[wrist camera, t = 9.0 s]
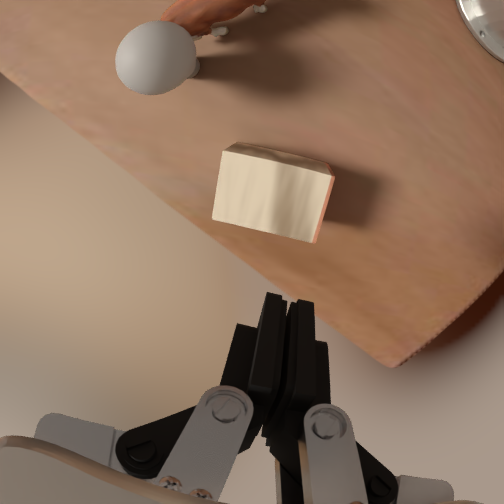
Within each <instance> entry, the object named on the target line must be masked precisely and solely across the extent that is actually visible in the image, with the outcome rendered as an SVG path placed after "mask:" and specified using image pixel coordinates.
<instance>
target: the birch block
mask: <svg viewBox="0 0 504 504" xmlns="http://www.w3.org/2000/svg"><path fill="white" fill-rule="evenodd" d="M334 180H335V175H334V174H333V172H332V170H331V168H330V167H329V165H328V163H325V162H321V161H318V160H314V159H310V158H306V157H302V156H298V155H294V154H290V153H286V152H281V151H277V150H273V149H268V148H264V147H259V146H254V145H249V144H244V143H239V142H236V143H235V144H233V145H231V146H230V147H228V148H226V149H225V150H223V153H222V159H221V165H220V171H219V177H218V183H217V189H216V196H215V202H214V209H213V215H212V219H213V220H217V221H222V222H226V223H230V224H235V225H239V226H243V227H248V228H252V229H256V230H260V231H264V232H269V233H273V234H277V235H281V236H285V237H289V238H294V239H298V240H302V241H306V242H310V243H314V244H315V243H316V240H317V237H318V233H319V230H320V227H321V224H322V220H323V217H324V214H325V211H326V207H327V204H328V200H329V197H330V194H331V190H332V187H333V183H334Z"/></svg>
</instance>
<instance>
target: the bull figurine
mask: <svg viewBox="0 0 504 504" xmlns="http://www.w3.org/2000/svg"><path fill="white" fill-rule="evenodd" d="M265 1H266V0H178V1H176V2H175V3H174V4H172V5H171V6H170V7H169V8H168V9H167V10H166V11H165V12H164V13H163V15H162V16H161V21H169V22H173V23H176V24H178V25H179V26H181V27H183V28H184V29H185V30H186V31H187V32H188V33H189V34H190V35H191V37H192V39H193V41H195V40H199V39H201V38H202V36H203V35H208V34H211V35H213V36H214V37H217V36H218V35H226V34H227V33H228V31H229V30H228V27H224V26H223V27H218V28H215V29H212V28H210V26H211V25H212V24H213V23H216V22H221V21H227V20H230V19H232V18H234V17H236V16H238V15H239V14H241V13H242V12H243V11H244V10H245V9H246V8H248V7H250V6H252V5H253V4H254V6H253V8H254V12H255V13H257V12H261V13H264V12H266V11H267V7H266V6H265V5H263V4H264V3H265Z"/></svg>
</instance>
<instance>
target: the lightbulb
mask: <svg viewBox="0 0 504 504" xmlns="http://www.w3.org/2000/svg"><path fill="white" fill-rule="evenodd" d="M115 63H116V70H117V74H118V76H119V78H120V80H121V81H122V82H123V83H124V84H125V85H126V86H127V87H128V88H130V89H131V90H133V91H135V92H138V93H140V94H145V95H158V94H163V93H166V92H168V91H170V90H173V89H175V88H176V87H178V86H179V85H181V84H182V83H183V82H184V81H185V80H186V79H189V78H192V77H194V76H195V75H196V74H197V73H198V71H199V68H200V63H199V61H198V59H197V58H196V47H195V44H194V41H193V39H192V37H191V35H190V34H189V33H188V32H187V31H186V30H185V29H184V28H183V27H181V26H179V25H178V24H176V23H173V22H169V21H159V20H158V21H151V22H147V23H144V24H141V25H139V26H138V27H136V28H134V29H133V30H132V31H130V32H129V33H128V34H127V35H126V36H125V37H124V39H123V40H122V42H121V43H120V45H119V47H118V50H117V53H116V60H115Z"/></svg>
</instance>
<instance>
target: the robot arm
mask: <svg viewBox="0 0 504 504" xmlns="http://www.w3.org/2000/svg"><path fill="white" fill-rule="evenodd" d="M456 3H457V7H458V9H459V11H460V14H461V16H462V18H463V20H464V22H465V24H466V25H467V27H468V29H469V30H470V31H471V33H472V34H473V36H474V37H475V38H476V40H477V41H478V42H479V43H480V44H481V45H482V46H483V47H484V48H485V49H486V50H487V51H488V52H489V53H490V54H491V55H493V56H494V57H495V58H497V59H498V60H500V61H502V62H504V0H456ZM286 312H287V301H285V300H282V296H281V295H278V294H273V293H269V292H267V294H266V297H265V301H264V305H263V308H262V312H261V316H260V319H259V323H258V326H257V328H255V327H250V326H246V325H242V324H238V323H237V325H236V329H235V332H234V336H233V340H232V343H231V347H230V351H229V354H228V357H227V361H226V365H225V368H224V372H223V375H222V379H221V382H220V386H216V387H213V388H211V389H209V390H207V391H206V392H205V393H204V394H203V396H202V397H201V399H200V401H199V403H198V404H197V405H196V406H194V407H191V408H188V409H186V410H183V411H181V412H178V413H176V414H173V415H171V416H168V417H165V418H163V419H160V420H157V421H154V422H151V423H148V424H145V425H143V426H140V427H137V428H134V429H131V430H129V431H122V430H116V429H115V428H114V427H112V426H107V425H103V424H98V423H94V422H89V421H85V420H81V419H77V418H73V417H69V416H66V415H62V414H57V413H50V414H47V415H45V416H44V417H43V418H41V419H40V421H39V423H38V425H37V428H36V431H35V435H34V438H31V437H25V436H4V437H1V438H0V504H227V503H221V502H217V501H218V499H219V497H220V494H221V492H222V490H223V488H224V485H225V482H226V480H227V478H228V476H229V473H230V471H231V468H232V466H233V464H234V461H235V459H236V456H237V454H239V453H241V452H243V451H245V450H247V449H249V448H250V446H251V444H252V442H253V440H254V438H255V436H257V435H258V433H259V431H260V429H261V427H262V425H263V427H262V434H261V436H262V437H265V438H267V439H266V446H270V453H272V455H273V456H274V457H275V477H276V496H277V497H276V498H277V504H482V503H479V502H475V501H468V500H457V501H454V491H453V488H452V486H451V485H450V484H449V483H448V482H447V481H443V480H436V479H427V478H420V477H419V478H418V477H412V476H406V475H400V476H398V477H397V476H394V475H393V474H392V472H390V471H389V470H388V469H387V468H386V467H385V466H383V465H382V464H381V463H380V462H379V461H378V460H377V459H375V458H374V457H373V456H372V455H371V454H370V453H369V452H367V450H366V449H364V448H363V447H362V446H361V445H360V444H359V443H358V442H357V441H355V437H354V432H353V428H352V424H351V421H350V418H349V417H348V415H347V414H346V413H345V411H343V410H342V409H340V408H339V407H337V406H334V405H332V404H331V400H330V399H331V398H330V374H329V357H328V346H327V343H326V342H322V341H317V340H315V316H314V303H313V302H310V301H305V300H300V299H298V300H297V303H295V302H291V304H290V307H289V310H288V313H287V316H286Z"/></svg>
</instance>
